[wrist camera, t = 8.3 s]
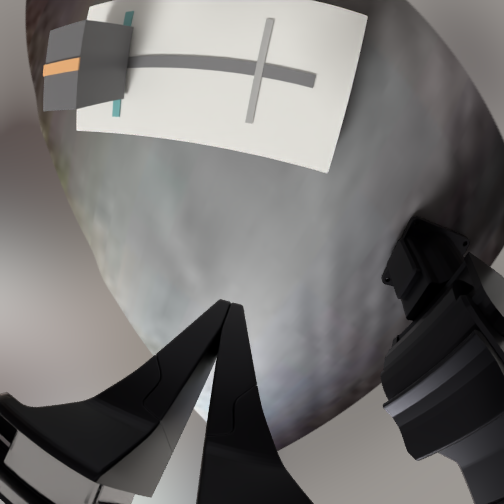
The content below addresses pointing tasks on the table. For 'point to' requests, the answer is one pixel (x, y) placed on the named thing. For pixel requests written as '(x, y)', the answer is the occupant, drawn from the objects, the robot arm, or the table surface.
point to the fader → (86, 64)
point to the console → (235, 75)
